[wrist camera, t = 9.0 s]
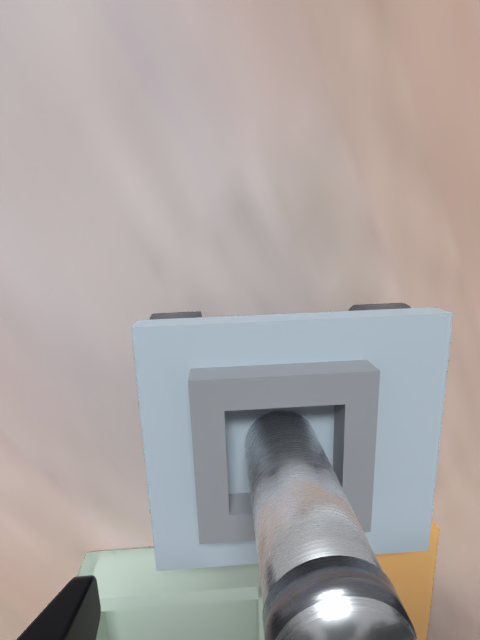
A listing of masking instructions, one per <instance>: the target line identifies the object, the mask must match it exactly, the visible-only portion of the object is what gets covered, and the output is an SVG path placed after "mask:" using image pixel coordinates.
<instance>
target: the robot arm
mask: <svg viewBox="0 0 480 640" xmlns="http://www.w3.org/2000/svg"><path fill="white" fill-rule="evenodd" d="M100 616H101V605H100V598H99V591H98V585H97V580H96V577H95V576H93V575H88V576H77V577H74V578H73V579H72V580H71V581H70V582H69V583H68V584H67V585H66V586H65V587H64V588H63V589H62V590H61V591H60V592H59V594H58V595H57V596H56V597H55V598H54V599H53V600H52V601H51V602H50V603H49V605H48V606H47V607H46V608H45V609H44V610H43V611H42V612H41V613H40V614H39V615H38V617H37V618H36V619H35V620H34V621H33V622H32V623H31V624H30V625H29V626H28V627H27V629H26V630H25V631H24V632H23V633H22V634H21V635H20V636H19V637H18V638H17V640H96V637H97V632H98V627H99V622H100Z"/></svg>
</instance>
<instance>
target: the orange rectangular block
mask: <svg viewBox="0 0 480 640" xmlns="http://www.w3.org/2000/svg"><path fill="white" fill-rule="evenodd" d="M438 537H439V528H438V527H437V526H436V524H435V523H434V522H433V520H432V521H431V531H430V541H429V551H416V552H402V553H389V554H376V555H375V556H376V558H377V560H378V562H379V564H380V566H381V568H382V570H383V572H384V573H385V574H386V575H387V577H388V578H389V579H390V581H391V583H392V584H393V586H394V588H395V590H396V592H397V594H398V596H399V598H400V600H401V602H402V604H403V606H404V608H405V610H406V612H407V614H408V616H409V618H410V620H411V622H412V624H413V626H414V629H415V632H416V637H417V640H427V635H428V626H429V617H430V608H431V599H432V590H433V581H434V573H435V564H436V555H437V546H438Z"/></svg>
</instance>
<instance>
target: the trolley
mask: <svg viewBox="0 0 480 640" xmlns="http://www.w3.org/2000/svg"><path fill="white" fill-rule="evenodd" d="M452 318H453V313H451V312H448V311H445V310H442V309H439V308H435V307H427V308H411V307H410V306H408V305H407V304H404V303H389V304H365V305H354V306H352V307H351V308H350V309H349V311H336V312H313V313H290V314H267V315H244V316H221V317H202V315H201V312H179V313H156V314H152V315H151V317H150V320H138V321H137V322H136V323H135V324H134V325H133V326H132V327H131V331H132V341H133V350H134V360H135V370H136V379H137V389H138V398H139V408H140V418H141V427H142V437H143V446H144V456H145V466H146V475H147V485H148V494H149V504H150V514H151V523H152V533H153V543H154V552H155V562H156V571H166V570H179V569H192V568H205V567H219V566H232V565H245V564H258V555H257V547H256V539H255V530H254V522H253V513H252V505H251V497H250V488H249V480H248V472H247V463H246V455H245V446H244V444H245V437H246V434H247V432H248V430H249V428H250V426H251V425H252V424H253V423H254V422H255V421H256V420H257V419H258V418H260V417H261V416H263V415H265V414H267V413H270V412H273V411H280V410H285V411H291V412H295V413H297V414H299V415H301V416H303V417H304V418H305V419H306V420H307V421H308V422H309V423H310V424H311V426H312V427H313V429H314V431H315V433H316V435H317V437H318V440H319V442H320V444H321V446H322V448H323V450H324V452H325V454H326V456H327V458H328V460H329V462H330V464H331V466H332V468H333V470H334V472H335V474H336V476H337V478H338V480H339V482H340V484H341V486H342V488H343V491H344V493H345V495H346V497H347V499H348V501H349V503H350V505H351V507H352V509H353V511H354V513H355V515H356V517H357V519H358V521H359V523H360V525H361V527H362V529H363V531H364V533H365V535H366V537H367V539H368V542H369V544H370V546H371V548H372V550H373V552H374V554H375V555H376V554H389V553H402V552H416V551H429V541H430V531H431V521H432V512H433V502H434V492H435V483H436V473H437V463H438V454H439V444H440V434H441V424H442V415H443V405H444V395H445V386H446V376H447V366H448V357H449V347H450V337H451V327H452Z"/></svg>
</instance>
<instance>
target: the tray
mask: <svg viewBox="0 0 480 640" xmlns="http://www.w3.org/2000/svg"><path fill="white" fill-rule="evenodd" d="M88 575H93V576H95V577H96V580H97V585H98V591H99V598H100V605H101V616H100V622H99V627H98V632H97V637H96V640H265V638H264V629H263V620H262V614H263V607H264V605H263V597H262V589H261V580H260V572H259V564H245V565H232V566H219V567H205V568H192V569H179V570H166V571H156V562H155V552H154V547H150V548H136V549H123V550H109V551H95V552H87V554H86V556H85V558H84V561H83V563H82V566H81V568H80V570H79V573H78V575H77V576H88Z"/></svg>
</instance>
